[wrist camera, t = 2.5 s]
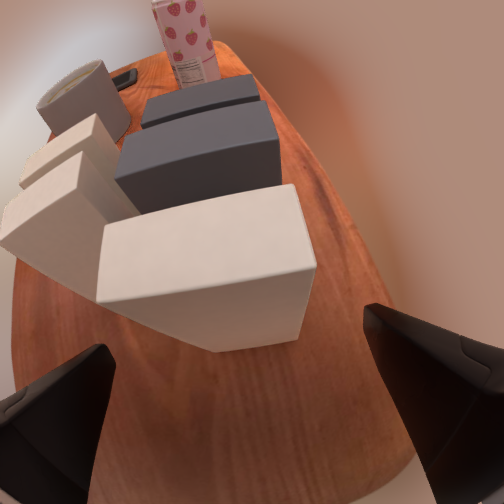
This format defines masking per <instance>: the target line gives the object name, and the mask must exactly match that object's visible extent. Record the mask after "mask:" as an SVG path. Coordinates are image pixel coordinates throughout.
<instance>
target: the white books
mask: <svg viewBox="0 0 504 504" xmlns="http://www.w3.org/2000/svg"><path fill="white" fill-rule="evenodd" d="M120 153H121V152H120V151H119V149H118V148H117V146H116V144H115V143H114V141H113V140H112V138H111V136H110V135H109V133H108V132H107V130H106V128H105V127H104V125H103V123H102V122H101V120H100V118H99V117H98V115H97V114H96V113H95V114H93V115H91V116H90V117H88V118H86V119H84V120H83V121H81V122H79V123H78V124H76V125H75V126H73V127H71V128H70V129H68V130H67V131H65V132H64V133H62V134H61V135H59V136H58V137H56V138H55V139H53V140H52V141H50V142H49V143H48V144H46V145H45V146H44V147H42V148H41V149H39V150H38V151H37V152H35V153H34V154H33V155H32V156H30V157H29V158H28V159H27V161H26V164H25V167H24V170H23V172H22V175H21V178H20V181H19V185H20V186H21V187H22V188H23V189H24V191H23V192H21V193H20V194H19V195H17V196H16V197H15V198H14V199H13V200H11V201H10V202H9V203H8V204H7V205H6V208H5V211H4V215H3V219H2V223H1V227H0V246H2V247H3V248H5V249H6V250H7V251H9V252H10V253H12V254H13V255H15V256H16V257H17V258H19V259H20V260H22V261H24V262H25V263H27V264H28V265H30V266H31V267H33V268H34V269H36V270H38V271H39V272H41V273H43V274H44V275H46V276H47V277H49V278H51V279H53V280H54V281H56V282H58V283H59V284H61V285H63V286H65V287H66V288H68V289H70V290H72V291H74V292H76V293H77V294H79V295H81V296H83V297H85V298H87V299H89V300H91V301H93V302H95V303H96V304H98V303H97V302H96V295H97V282H98V271H99V262H100V253H101V246H102V239H103V232H104V227H105V225H107V224H111V223H114V222H118V221H122V220H125V219H129V218H133V217H136V216H140V215H141V214H140V212H139V211H138V210H137V209H136V207H135V206H134V205H133V203H132V202H131V201H130V200H129V198H128V197H127V196H126V194H125V193H124V192H123V190H122V189H121V188H120V187H119V185H118V184H117V183H116V181H115V180H114V176H115V172H116V168H117V164H118V160H119V156H120ZM98 305H99V304H98ZM100 306H101V305H100ZM102 307H103V306H102ZM104 308H106V307H104ZM107 309H108V308H107ZM109 310H110V309H109ZM111 311H112V310H111ZM113 312H114V311H113ZM115 313H116V312H115ZM117 314H118V313H117ZM119 315H120V314H119Z"/></svg>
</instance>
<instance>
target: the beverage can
mask: <svg viewBox="0 0 504 504" xmlns="http://www.w3.org/2000/svg"><path fill="white" fill-rule="evenodd" d="M151 3H152V10H153V13H154V17H155V20H156V22H157V25H158V28H159V31H160V34H161V37H162V40H163V43H164V46H165V49H166V52H167V55H168V58H169V61H170V64H171V66H172V69H173V72H174V75H175V78H176V81H177V84H178V87H179V89H183V88H187V87H191V86H195V85H199V84H203V83H207V82H211V81H216V80H220V79H221V75H220V71H219V67H218V62H217V58H216V54H215V50H214V46H213V42H212V38H211V34H210V30H209V26H208V22H207V18H206V14H205V10H204V6H203V3H202V0H153V1H152V2H151Z"/></svg>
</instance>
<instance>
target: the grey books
mask: <svg viewBox="0 0 504 504" xmlns="http://www.w3.org/2000/svg"><path fill="white" fill-rule="evenodd" d="M140 125H141V127H142V129H143V130H141V131H138V132H135V133H132V134H129V135H127V136H125V139H124V142H123V146H122V149H121V153H120V156H119V160H118V164H117V168H116V172H115V176H114V180H115V181H116V183H117V184H118V185H119V187H120V188H121V189H122V190H123V192H124V193H125V194H126V196H127V197H128V198H129V200H130V201H131V202H132V203H133V205H134V206H135V207H136V209H137V210H138V211H139V212H140V214H141V215H144V214H148V213H152V212H156V211H160V210H164V209H168V208H172V207H176V206H180V205H185V204H189V203H194V202H198V201H203V200H207V199H212V198H216V197H221V196H226V195H231V194H236V193H241V192H246V191H252V190H257V189H262V188H268V187H274V186H279V185H282V172H281V156H280V142H279V136H278V133H277V131H276V128H275V125H274V122H273V119H272V117H271V114H270V111H269V108H268V106H267V103H266V101H265V100H263V101H261V100H260V94H259V91H258V89H257V86H256V83H255V80H254V78H253V75H252V74H247V75H241V76H235V77H230V78H225V79H220V80H216V81H211V82H207V83H203V84H199V85H195V86H191V87H187V88H183V89H180V90H176V91H173V92H170V93H166V94H163V95H160V96H157V97H154V98H151V99H148V100H147V103H146V106H145V110H144V113H143V116H142V120H141V123H140Z"/></svg>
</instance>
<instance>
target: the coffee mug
mask: <svg viewBox="0 0 504 504" xmlns="http://www.w3.org/2000/svg"><path fill="white" fill-rule="evenodd" d="M36 109H37V111H38V112H39V114H40V115H41V116H42V118H43V119H44V121H45V122H46V123H47V125H48V126H49V127H50V129H51V130H52V132H53V133H54V135H55V136H56V137H58V136H59V135H61V134H62V133H64V132H65V131H67V130H68V129H70V128H71V127H73V126H75V125H76V124H78V123H79V122H81V121H83V120H84V119H86V118H88V117H90V116H91V115H93V114H95V113H96V114H97V115H98V117H99V118H100V120H101V122H102V123H103V125H104V127H105V128H106V130H107V132H108V133H109V135H110V136H111V138H112V140H113V141H114V143H116V142H117V141H118V140H119V139H120V138H121V137H122V136H123V134H124V133H125V132H126V131H127V129H128V127H129V125H130V123H131V116H130V114H129V112H128V111H127V109H126V107H125V105H124V103H123V101H122V99H121V97H120V95H119V93H118V91H117V89H116V87H115V85H114V83H113V81H112V79H111V77H110V75H109V73H108V71H107V69H106V67H105V65H104V63H103V61H102V60H101V59H98V60H94V61H91V62H89V63H87V64H85V65H83V66H81V67H79V68H78V69H76V70H74V71H73V72H71V73H70V74H68V75H67V76H65V77H64V78H63V79H61V80H60V81H59V82H57V84H55V85H54V86H53V87H52V88H51V89H50V90H49V91H48V92H46V94H45V95H44V96H43V97H42V98H41V99H40V101H39V102H38V104H37V106H36Z"/></svg>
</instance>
